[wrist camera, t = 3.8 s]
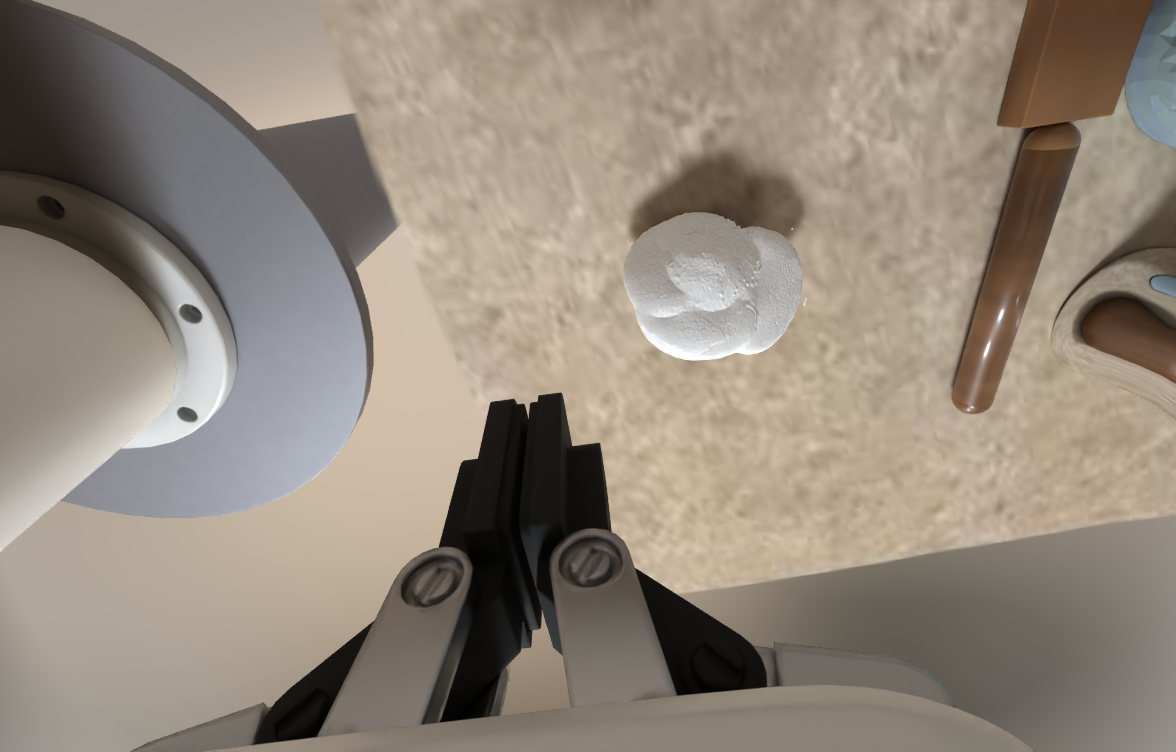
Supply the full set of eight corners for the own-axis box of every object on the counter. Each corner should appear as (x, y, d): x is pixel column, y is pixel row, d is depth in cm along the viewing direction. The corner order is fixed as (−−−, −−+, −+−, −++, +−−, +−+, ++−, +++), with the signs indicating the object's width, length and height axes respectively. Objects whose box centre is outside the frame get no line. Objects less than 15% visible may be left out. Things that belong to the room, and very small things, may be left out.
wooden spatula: (989, 397, 25) (1014, 416, 24) (924, 406, 25) (945, 425, 24) (1132, -39, 16) (1186, -50, 15) (1033, -24, 16) (1077, -33, 15)
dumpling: (621, 332, 22) (615, 358, 19) (630, 207, 21) (625, 209, 17) (784, 343, 22) (812, 373, 18) (808, 216, 20) (844, 220, 16)
